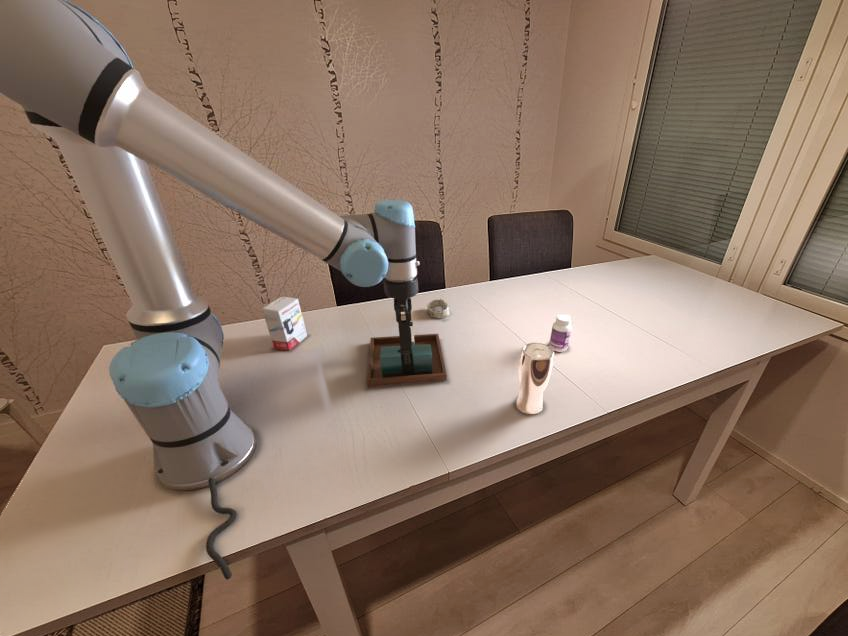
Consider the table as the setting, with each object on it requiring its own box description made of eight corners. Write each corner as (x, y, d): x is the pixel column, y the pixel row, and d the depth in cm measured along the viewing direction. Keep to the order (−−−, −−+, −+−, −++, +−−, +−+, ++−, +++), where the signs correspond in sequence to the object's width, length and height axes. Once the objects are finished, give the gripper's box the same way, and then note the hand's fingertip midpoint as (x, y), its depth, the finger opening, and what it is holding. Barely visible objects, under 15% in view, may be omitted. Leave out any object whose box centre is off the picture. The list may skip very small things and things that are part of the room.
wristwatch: (454, 317, 118) (454, 303, 115) (436, 322, 115) (436, 308, 112) (440, 306, 124) (439, 293, 121) (423, 310, 121) (422, 296, 118)
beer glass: (536, 420, 81) (546, 364, 72) (508, 407, 84) (515, 352, 75) (549, 402, 86) (560, 348, 77) (522, 391, 89) (530, 338, 80)
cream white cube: (415, 352, 100) (414, 341, 98) (401, 353, 99) (400, 342, 97) (414, 345, 102) (413, 334, 100) (401, 346, 102) (400, 335, 100)
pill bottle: (567, 353, 104) (573, 323, 98) (548, 350, 104) (553, 320, 99) (567, 343, 108) (573, 314, 103) (549, 341, 109) (554, 312, 103)
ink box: (289, 351, 98) (277, 311, 92) (273, 348, 99) (260, 309, 92) (308, 335, 105) (298, 297, 99) (292, 333, 106) (282, 295, 99)
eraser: (432, 374, 91) (431, 354, 88) (382, 378, 90) (379, 357, 86) (431, 363, 95) (430, 344, 92) (383, 366, 93) (380, 346, 90)
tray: (446, 382, 90) (446, 374, 89) (368, 388, 87) (366, 380, 86) (438, 340, 106) (438, 333, 105) (371, 344, 103) (370, 337, 101)
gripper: (420, 296, 73) (425, 386, 85) (415, 259, 91) (420, 337, 103) (381, 298, 72) (392, 388, 84) (384, 260, 90) (392, 339, 102)
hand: (407, 360), depth 94 cm, fingers open, 10 cm apart
